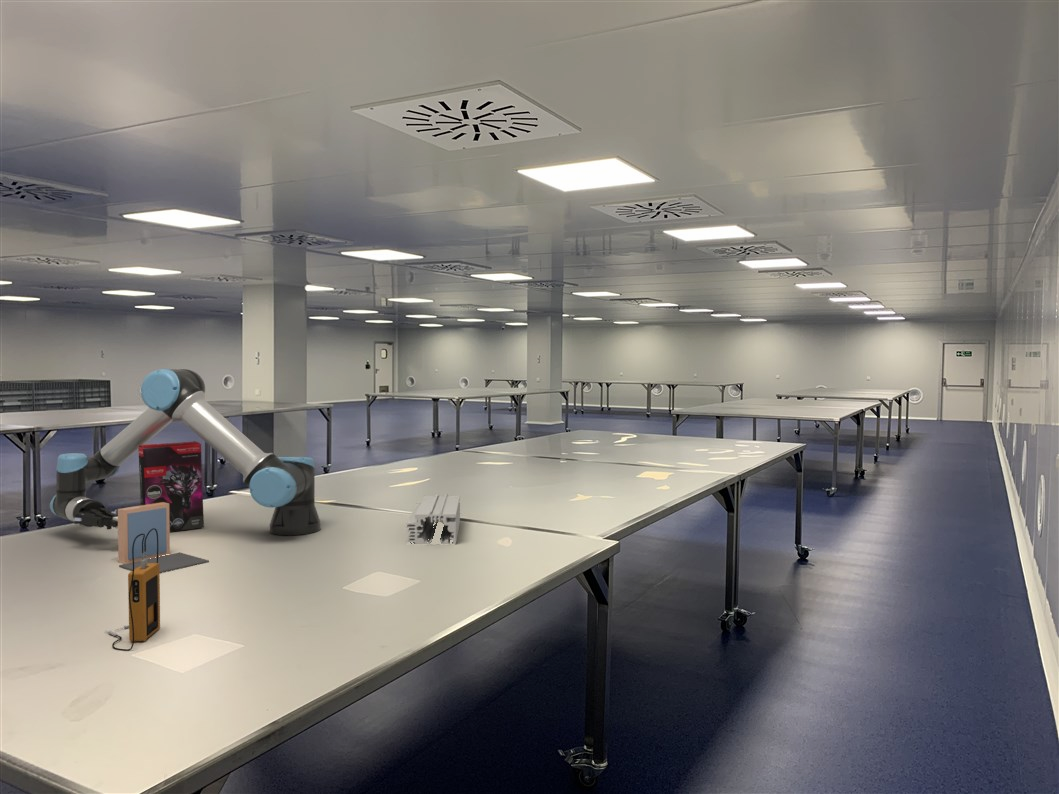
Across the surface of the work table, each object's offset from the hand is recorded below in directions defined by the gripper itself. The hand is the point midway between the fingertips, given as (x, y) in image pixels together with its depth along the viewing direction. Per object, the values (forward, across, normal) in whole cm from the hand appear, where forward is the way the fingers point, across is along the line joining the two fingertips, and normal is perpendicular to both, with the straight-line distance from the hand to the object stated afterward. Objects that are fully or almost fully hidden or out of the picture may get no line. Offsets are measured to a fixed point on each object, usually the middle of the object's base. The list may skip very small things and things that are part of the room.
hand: (127, 525), depth 197 cm
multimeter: (+61, +30, -6) cm, 69 cm away
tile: (+8, -1, -8) cm, 11 cm away
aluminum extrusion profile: (+50, -69, -5) cm, 85 cm away
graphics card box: (-18, -23, -8) cm, 30 cm away
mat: (+18, -1, -7) cm, 20 cm away
